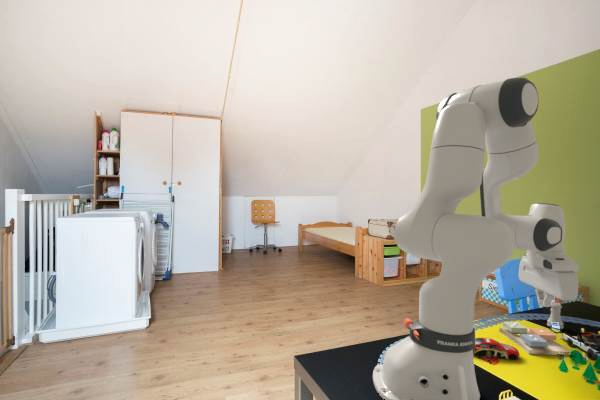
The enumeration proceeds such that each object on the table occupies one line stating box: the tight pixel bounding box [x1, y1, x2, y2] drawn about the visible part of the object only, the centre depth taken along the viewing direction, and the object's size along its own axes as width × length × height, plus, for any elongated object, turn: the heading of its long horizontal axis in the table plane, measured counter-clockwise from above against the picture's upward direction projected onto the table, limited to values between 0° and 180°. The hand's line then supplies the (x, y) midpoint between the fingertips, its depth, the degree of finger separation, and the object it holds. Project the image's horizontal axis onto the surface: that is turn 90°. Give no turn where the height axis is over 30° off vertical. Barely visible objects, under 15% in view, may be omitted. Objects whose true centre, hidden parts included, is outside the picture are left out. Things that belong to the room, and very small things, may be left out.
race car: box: [473, 337, 520, 361], centre depth 89 cm, size 13×5×4 cm, turn 78°
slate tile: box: [520, 334, 548, 347], centre depth 92 cm, size 5×5×2 cm
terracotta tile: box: [528, 327, 557, 341], centre depth 97 cm, size 5×5×2 cm
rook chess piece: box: [546, 301, 565, 330], centre depth 108 cm, size 4×4×8 cm
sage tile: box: [502, 321, 528, 333], centre depth 101 cm, size 5×5×2 cm
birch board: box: [498, 327, 572, 356], centre depth 97 cm, size 11×15×1 cm
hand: (544, 305), depth 97 cm, fingers closed
